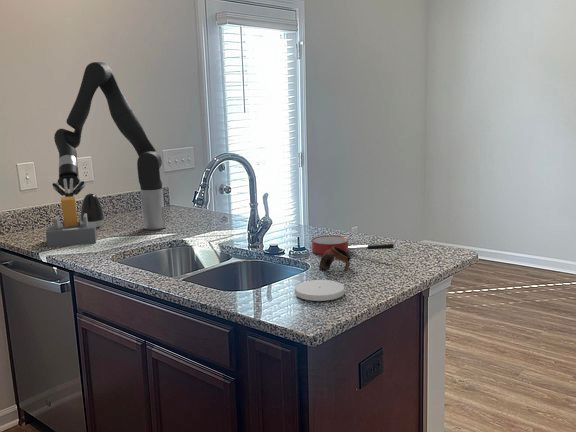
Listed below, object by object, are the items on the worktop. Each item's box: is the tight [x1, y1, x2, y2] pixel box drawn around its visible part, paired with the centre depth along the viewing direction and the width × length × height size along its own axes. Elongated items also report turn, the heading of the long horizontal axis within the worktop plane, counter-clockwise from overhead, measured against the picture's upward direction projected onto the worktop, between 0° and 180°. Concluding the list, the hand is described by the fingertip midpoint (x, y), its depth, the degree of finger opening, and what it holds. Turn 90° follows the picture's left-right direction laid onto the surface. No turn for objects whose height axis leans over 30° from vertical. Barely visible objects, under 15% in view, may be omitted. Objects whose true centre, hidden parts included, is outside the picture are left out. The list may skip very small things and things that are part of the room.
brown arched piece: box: [318, 246, 352, 271], centre depth 195 cm, size 12×10×8 cm
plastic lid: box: [294, 279, 345, 302], centre depth 172 cm, size 14×14×2 cm
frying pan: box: [311, 235, 394, 256], centre depth 213 cm, size 32×13×6 cm, turn 56°
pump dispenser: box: [80, 193, 105, 229], centre depth 269 cm, size 10×10×15 cm
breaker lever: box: [60, 195, 81, 227], centre depth 242 cm, size 6×2×13 cm, turn 105°
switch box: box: [45, 213, 98, 248], centre depth 244 cm, size 18×13×10 cm
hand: (69, 202), depth 243 cm, fingers closed
